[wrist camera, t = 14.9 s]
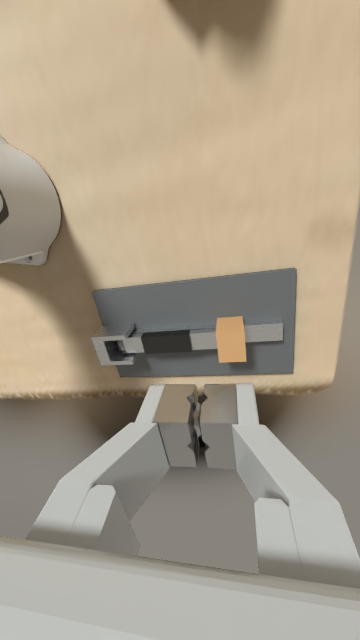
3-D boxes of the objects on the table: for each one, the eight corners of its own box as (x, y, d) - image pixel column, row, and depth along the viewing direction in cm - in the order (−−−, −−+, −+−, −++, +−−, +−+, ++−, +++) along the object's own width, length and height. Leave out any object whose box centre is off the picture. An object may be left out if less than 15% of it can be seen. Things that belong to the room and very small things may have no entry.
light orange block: (219, 344, 42) (219, 362, 37) (217, 317, 40) (215, 333, 35) (244, 343, 41) (246, 361, 36) (242, 316, 39) (244, 332, 34)
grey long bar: (111, 351, 47) (101, 365, 43) (102, 324, 44) (90, 337, 40) (280, 342, 40) (286, 358, 36) (281, 310, 38) (287, 324, 34)
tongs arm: (122, 349, 44) (118, 355, 42) (117, 333, 43) (113, 339, 41) (242, 343, 39) (243, 349, 38) (241, 325, 38) (242, 331, 37)
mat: (122, 374, 50) (120, 377, 49) (94, 290, 43) (92, 292, 42) (291, 369, 43) (293, 372, 42) (294, 267, 35) (296, 269, 35)
